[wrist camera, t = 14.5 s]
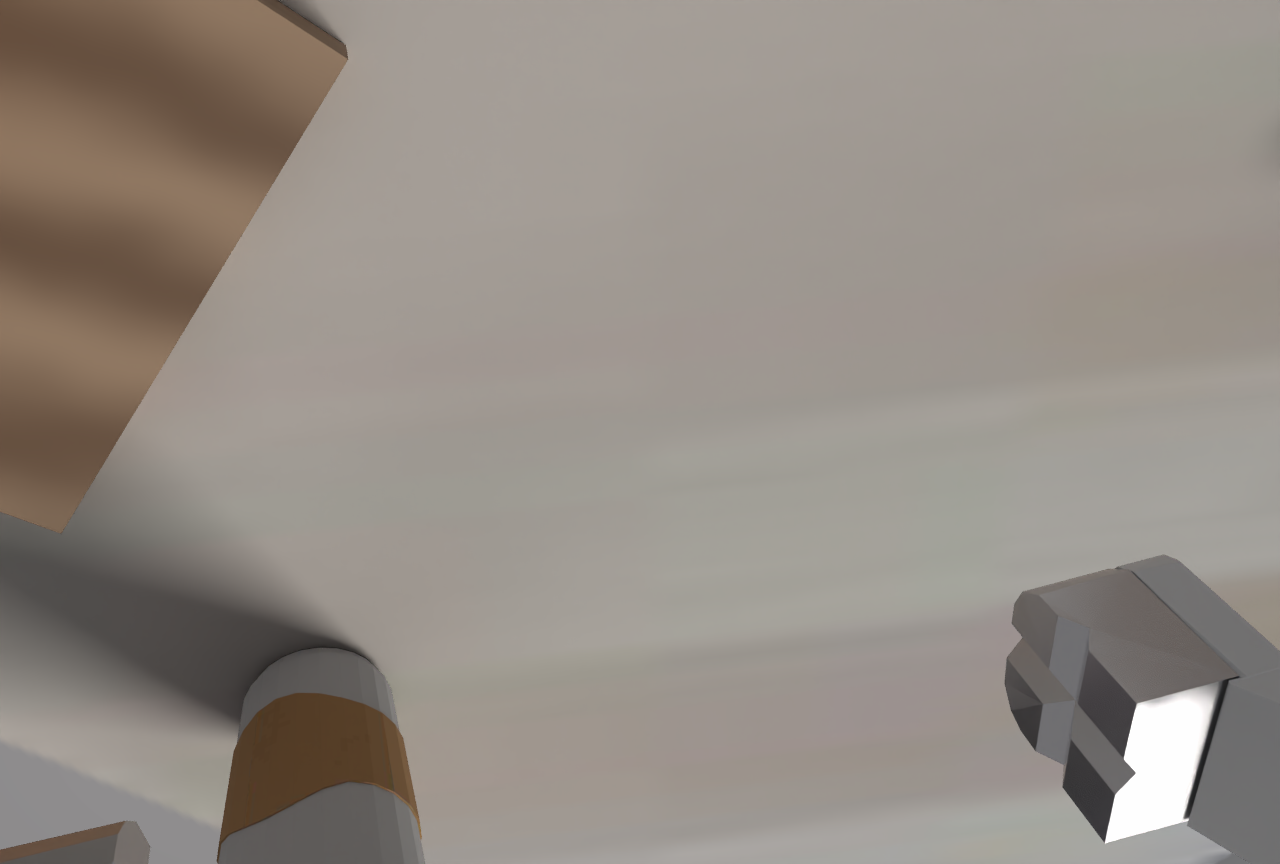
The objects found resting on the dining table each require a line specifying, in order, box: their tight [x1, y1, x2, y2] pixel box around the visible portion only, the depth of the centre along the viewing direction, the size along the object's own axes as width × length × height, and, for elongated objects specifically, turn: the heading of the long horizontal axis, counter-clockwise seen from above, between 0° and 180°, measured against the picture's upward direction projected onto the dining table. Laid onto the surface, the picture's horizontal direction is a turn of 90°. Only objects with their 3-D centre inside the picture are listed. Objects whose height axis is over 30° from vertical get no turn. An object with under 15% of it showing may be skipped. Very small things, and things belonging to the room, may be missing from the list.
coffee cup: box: [217, 648, 425, 864], centre depth 43 cm, size 8×8×15 cm
